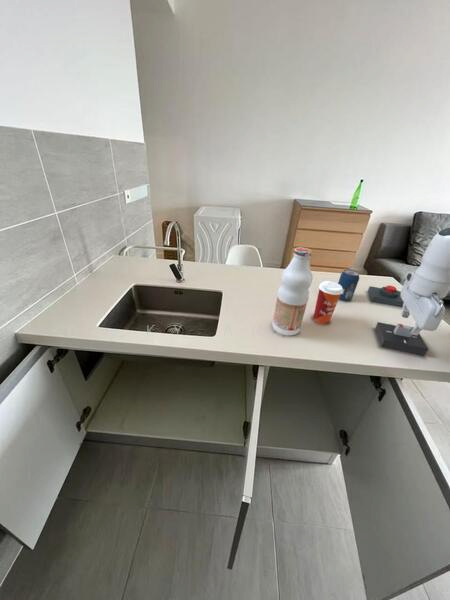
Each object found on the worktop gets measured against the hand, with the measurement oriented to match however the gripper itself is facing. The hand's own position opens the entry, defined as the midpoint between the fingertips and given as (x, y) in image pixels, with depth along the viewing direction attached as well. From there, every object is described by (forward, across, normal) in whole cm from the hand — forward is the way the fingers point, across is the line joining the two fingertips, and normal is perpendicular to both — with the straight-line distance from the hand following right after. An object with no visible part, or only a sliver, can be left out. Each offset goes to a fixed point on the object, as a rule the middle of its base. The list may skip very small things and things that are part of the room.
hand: (408, 324), depth 76 cm
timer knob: (+4, 0, 0) cm, 4 cm away
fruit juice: (+7, -6, +36) cm, 38 cm away
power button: (+3, +30, -3) cm, 30 cm away
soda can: (+7, +24, +16) cm, 29 cm away
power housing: (+7, +30, -2) cm, 31 cm away
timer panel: (+7, 0, 0) cm, 7 cm away
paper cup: (+7, +4, +24) cm, 26 cm away
